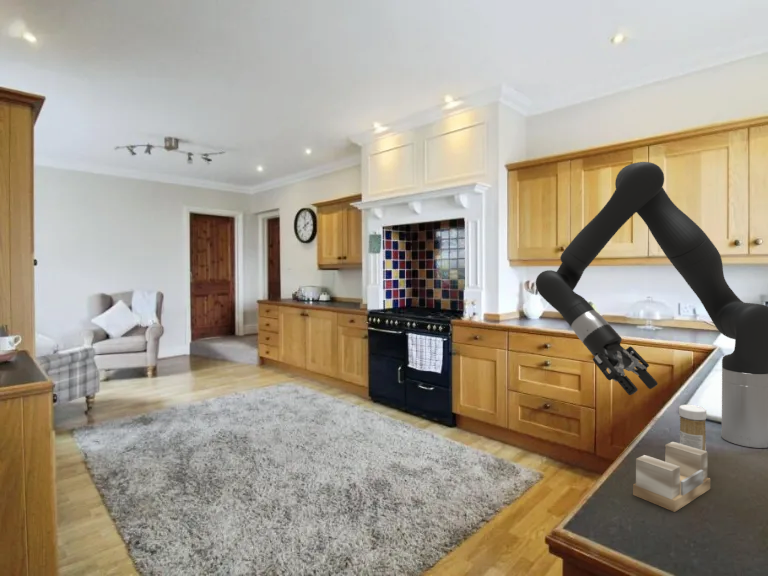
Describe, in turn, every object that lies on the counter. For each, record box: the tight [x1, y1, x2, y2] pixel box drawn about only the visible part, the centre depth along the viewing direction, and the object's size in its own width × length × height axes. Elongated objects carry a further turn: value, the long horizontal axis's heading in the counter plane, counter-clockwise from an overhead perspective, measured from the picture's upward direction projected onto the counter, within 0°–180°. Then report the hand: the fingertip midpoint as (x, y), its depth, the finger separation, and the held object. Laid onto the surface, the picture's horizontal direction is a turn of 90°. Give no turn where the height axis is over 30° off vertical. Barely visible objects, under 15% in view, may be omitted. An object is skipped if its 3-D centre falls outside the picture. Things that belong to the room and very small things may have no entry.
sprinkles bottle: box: [678, 404, 708, 451], centre depth 88 cm, size 5×5×14 cm
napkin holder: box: [632, 441, 711, 513], centre depth 81 cm, size 14×7×7 cm, turn 122°
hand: (644, 389), depth 96 cm, fingers open, 8 cm apart
